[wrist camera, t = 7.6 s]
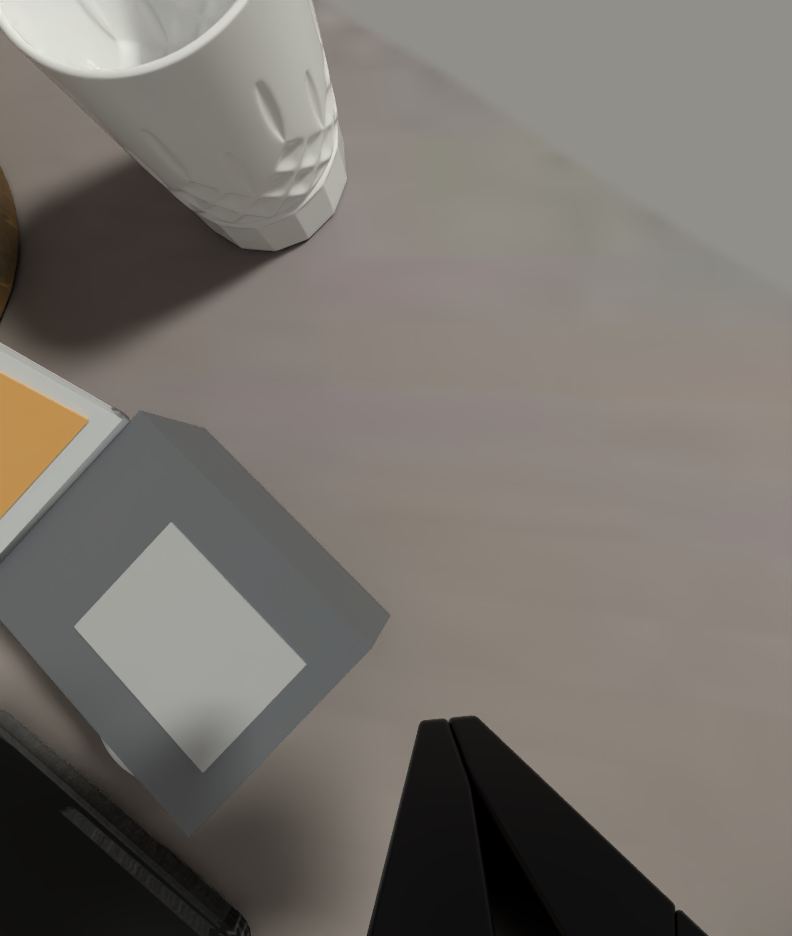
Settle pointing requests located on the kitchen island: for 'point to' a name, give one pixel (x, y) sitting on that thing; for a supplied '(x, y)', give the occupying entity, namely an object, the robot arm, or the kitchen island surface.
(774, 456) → the kitchen island surface
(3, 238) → the wooden container
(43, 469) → the side door
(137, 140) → the white cup
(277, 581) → the camera case
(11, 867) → the phone
